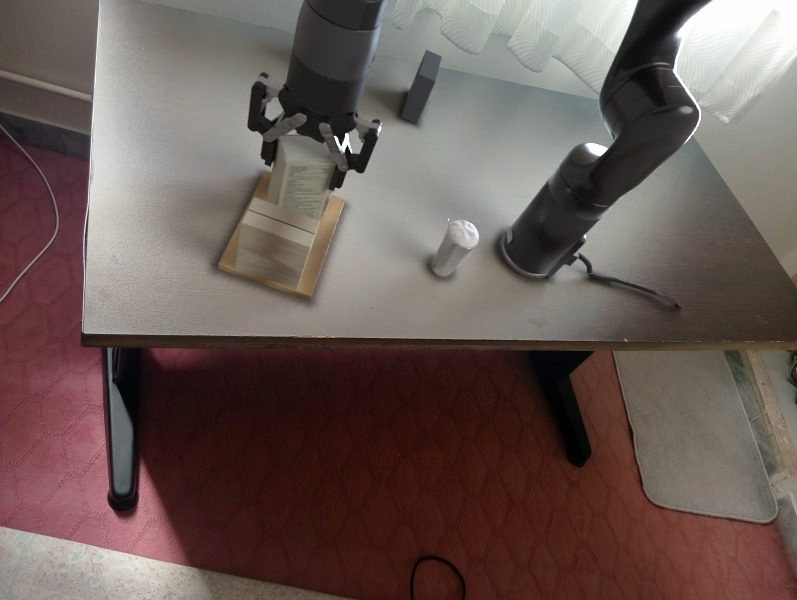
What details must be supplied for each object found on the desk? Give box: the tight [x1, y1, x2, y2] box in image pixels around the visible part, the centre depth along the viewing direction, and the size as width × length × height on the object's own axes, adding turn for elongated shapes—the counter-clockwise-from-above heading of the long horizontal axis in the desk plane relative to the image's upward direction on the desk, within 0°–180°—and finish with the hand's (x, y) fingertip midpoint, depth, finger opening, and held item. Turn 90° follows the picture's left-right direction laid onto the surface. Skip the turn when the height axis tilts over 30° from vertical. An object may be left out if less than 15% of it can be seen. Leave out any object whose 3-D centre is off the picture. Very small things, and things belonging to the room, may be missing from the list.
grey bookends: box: [400, 49, 443, 125], centre depth 93 cm, size 19×8×9 cm, turn 79°
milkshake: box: [430, 217, 480, 278], centre depth 75 cm, size 4×5×10 cm
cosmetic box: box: [266, 135, 337, 221], centre depth 66 cm, size 6×4×12 cm
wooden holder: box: [217, 129, 346, 301], centre depth 69 cm, size 12×18×10 cm, turn 169°
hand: (301, 173), depth 64 cm, fingers closed on cosmetic box, 7 cm apart
